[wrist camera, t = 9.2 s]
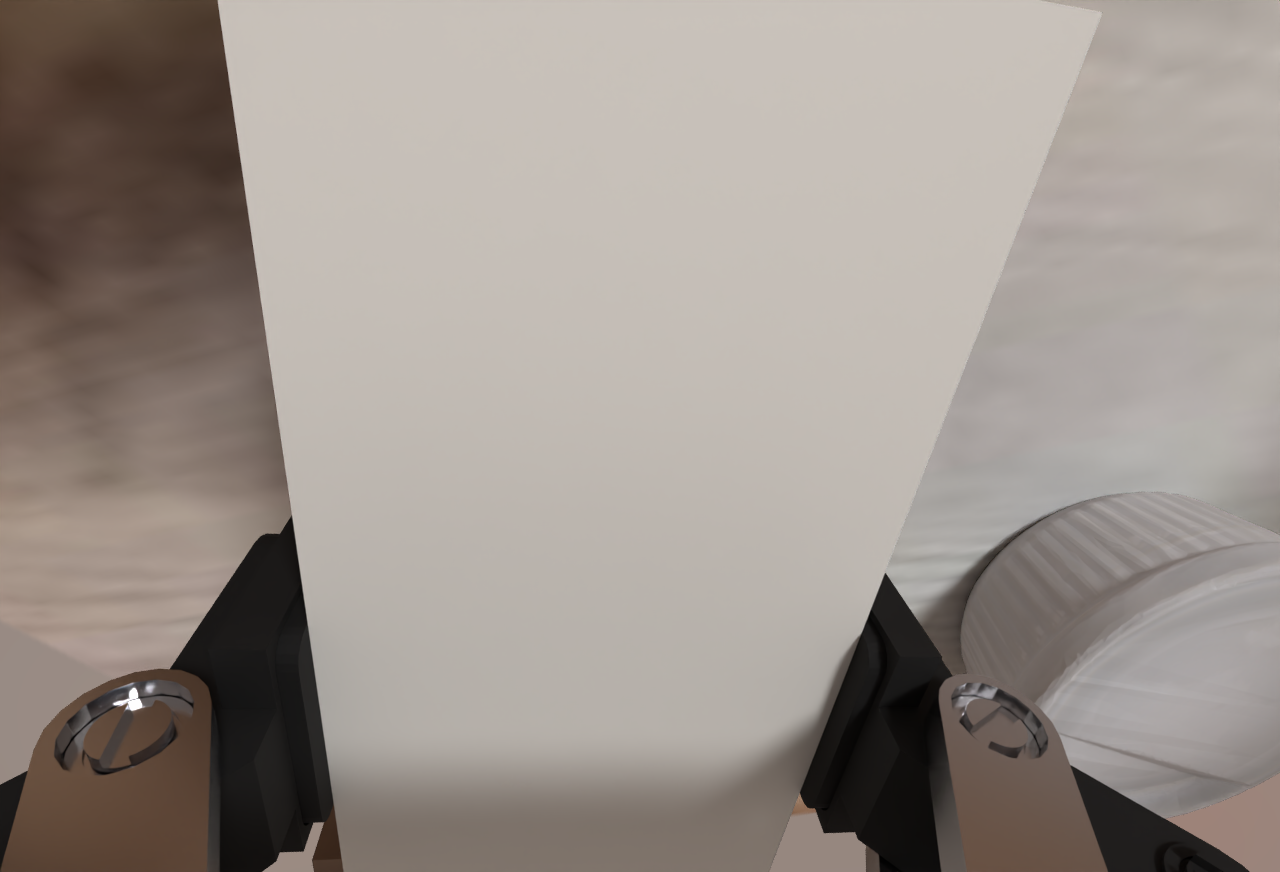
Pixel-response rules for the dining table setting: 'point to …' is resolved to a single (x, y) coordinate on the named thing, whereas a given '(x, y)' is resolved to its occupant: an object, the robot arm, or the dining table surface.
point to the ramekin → (1142, 643)
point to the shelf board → (615, 384)
